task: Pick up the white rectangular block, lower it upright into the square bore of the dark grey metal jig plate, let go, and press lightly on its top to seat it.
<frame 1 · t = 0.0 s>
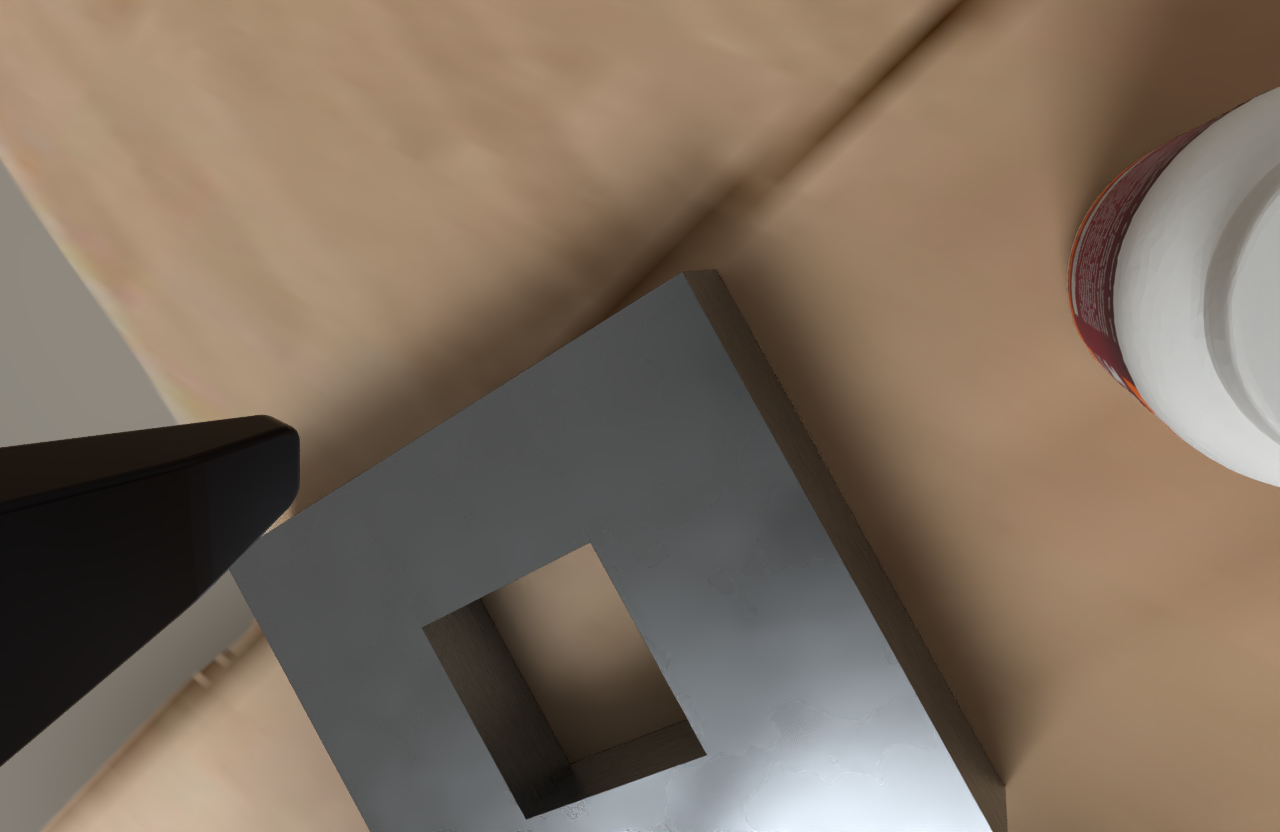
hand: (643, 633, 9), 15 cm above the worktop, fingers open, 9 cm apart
pill bottle: (1214, 271, 20), on the worktop
jig plate: (599, 643, 27), on the worktop
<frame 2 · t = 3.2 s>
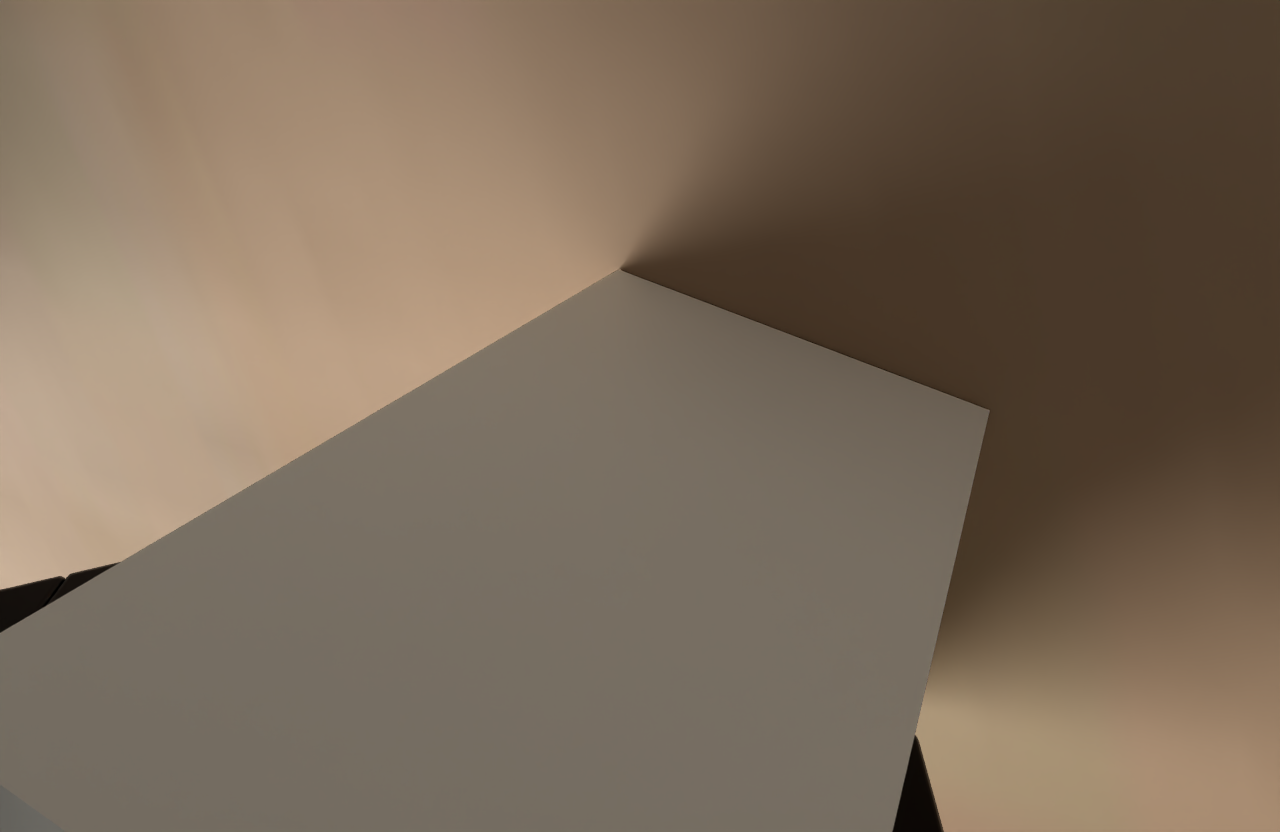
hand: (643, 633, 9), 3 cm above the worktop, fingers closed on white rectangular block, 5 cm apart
white rectangular block: (740, 492, 11), on the worktop, touching gripper
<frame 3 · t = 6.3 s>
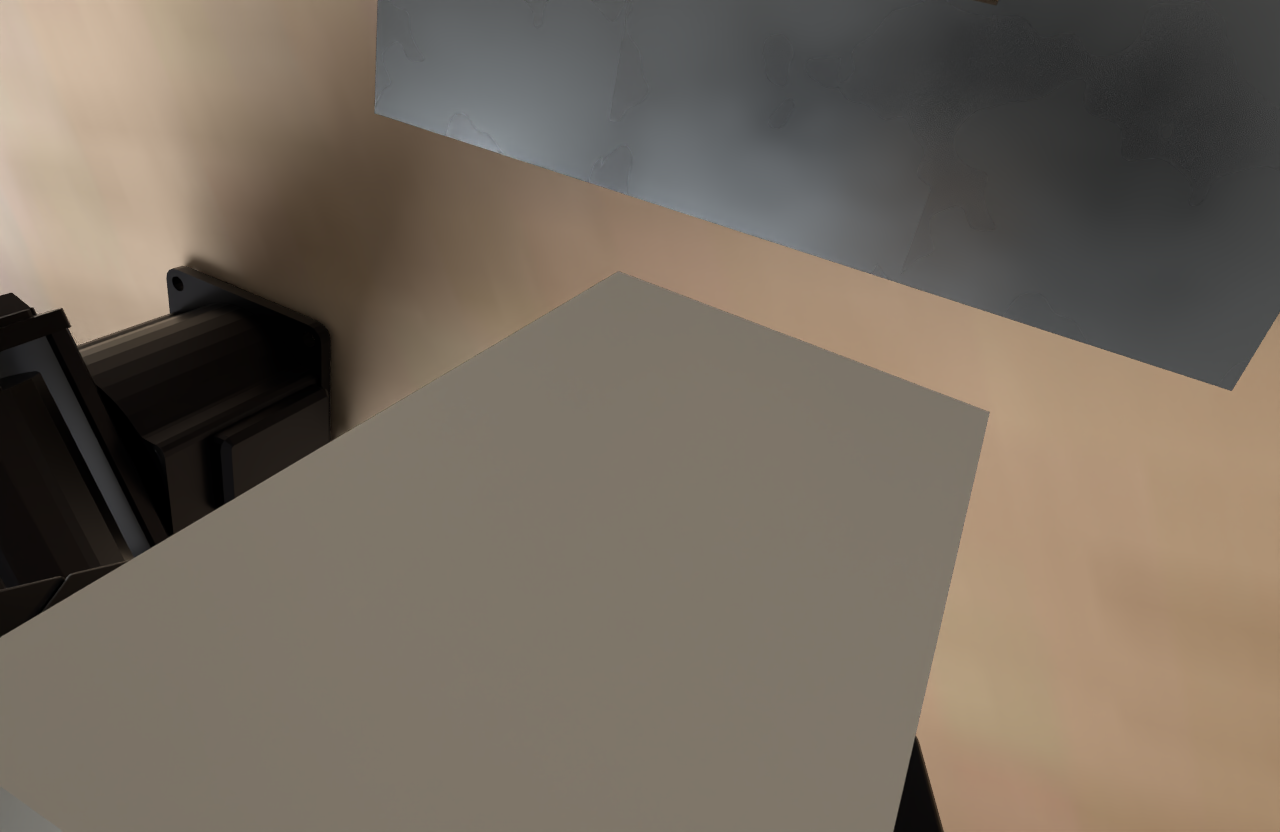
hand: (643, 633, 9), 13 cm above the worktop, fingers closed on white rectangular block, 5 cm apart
white rectangular block: (740, 493, 11), point 10 cm above the worktop, touching gripper
when the fingers open (4 cm above the worktop, at t = 9.4 s): white rectangular block drops 1 cm, resting in jig plate.
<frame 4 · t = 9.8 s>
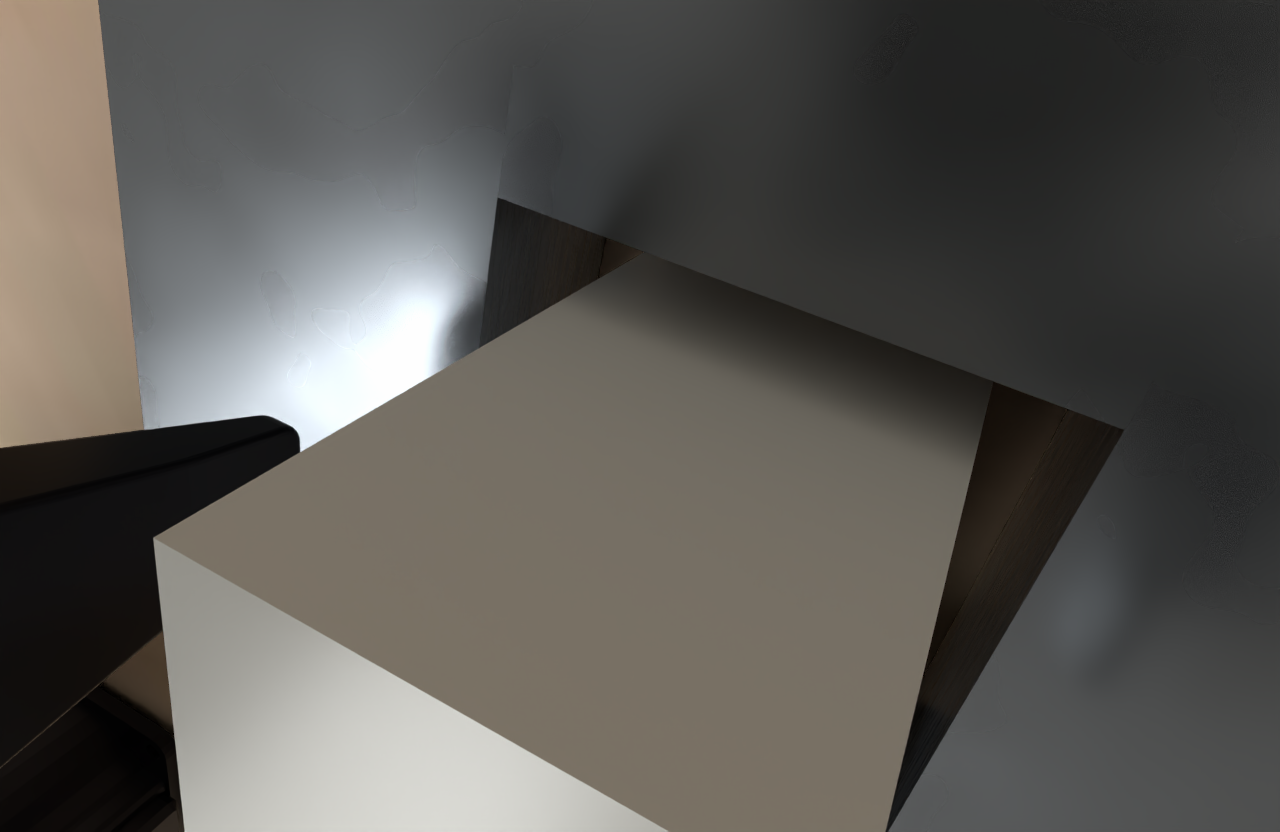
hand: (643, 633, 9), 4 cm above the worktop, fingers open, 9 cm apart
white rectangular block: (772, 442, 12), resting in jig plate
jig plate: (775, 443, 12), on the worktop
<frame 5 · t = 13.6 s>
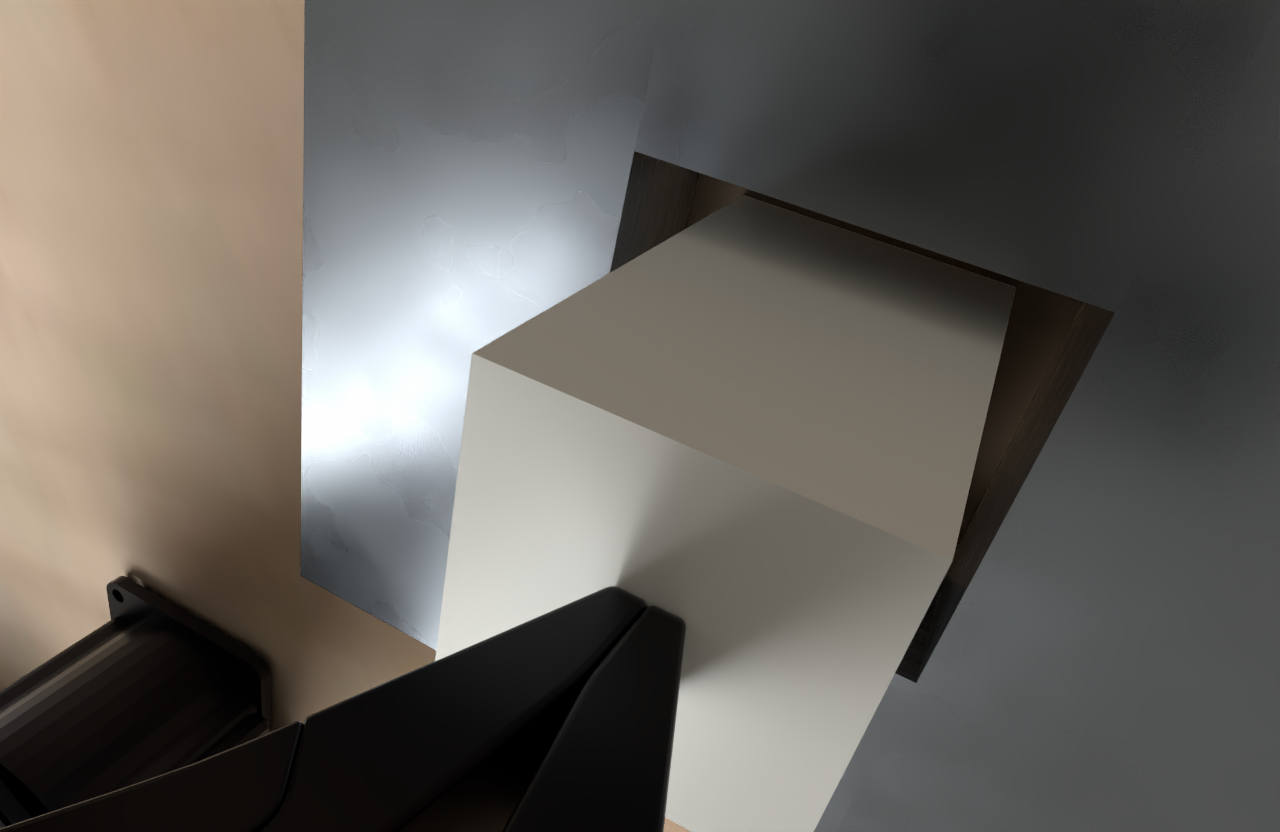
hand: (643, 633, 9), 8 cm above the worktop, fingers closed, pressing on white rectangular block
white rectangular block: (829, 361, 15), resting in jig plate, touching gripper
jig plate: (832, 362, 15), on the worktop
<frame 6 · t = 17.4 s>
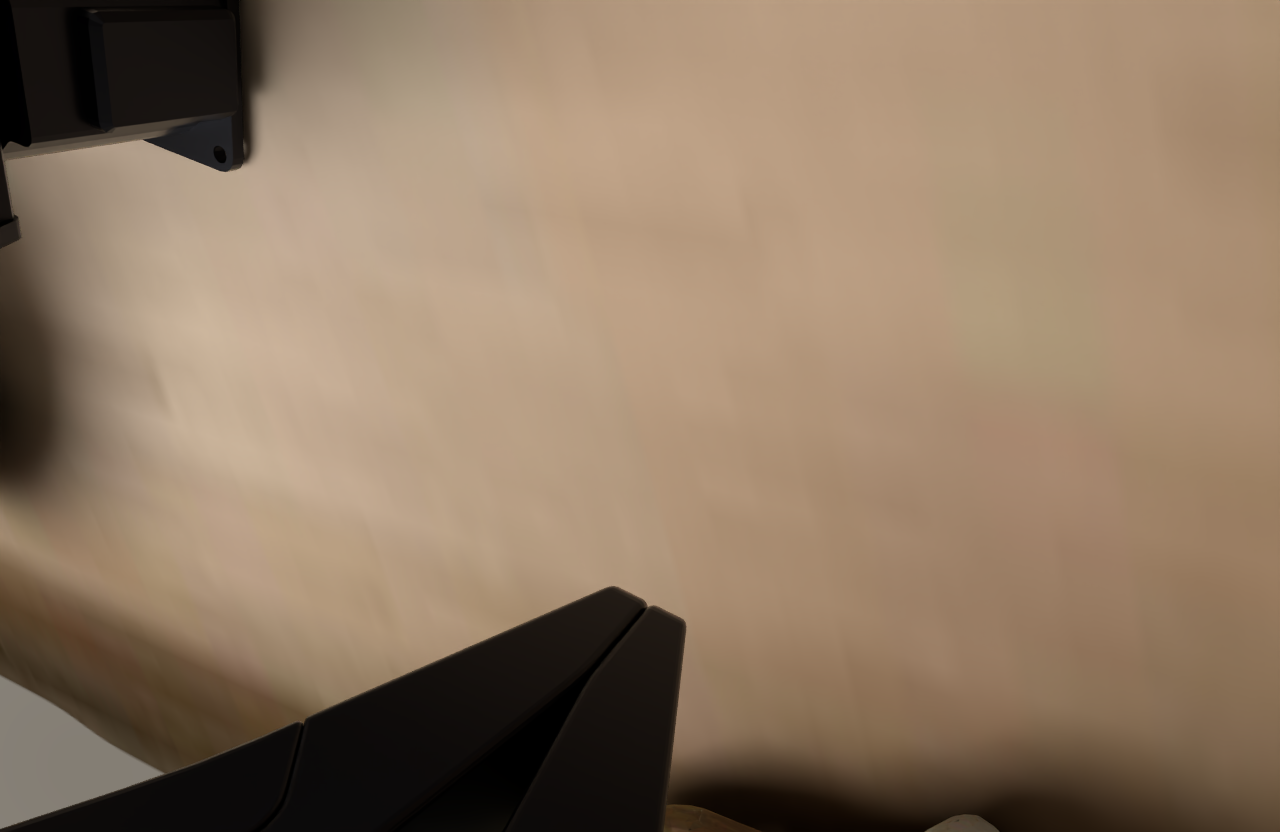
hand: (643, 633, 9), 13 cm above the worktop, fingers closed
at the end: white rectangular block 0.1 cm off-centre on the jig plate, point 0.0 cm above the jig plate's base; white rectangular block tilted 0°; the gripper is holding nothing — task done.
